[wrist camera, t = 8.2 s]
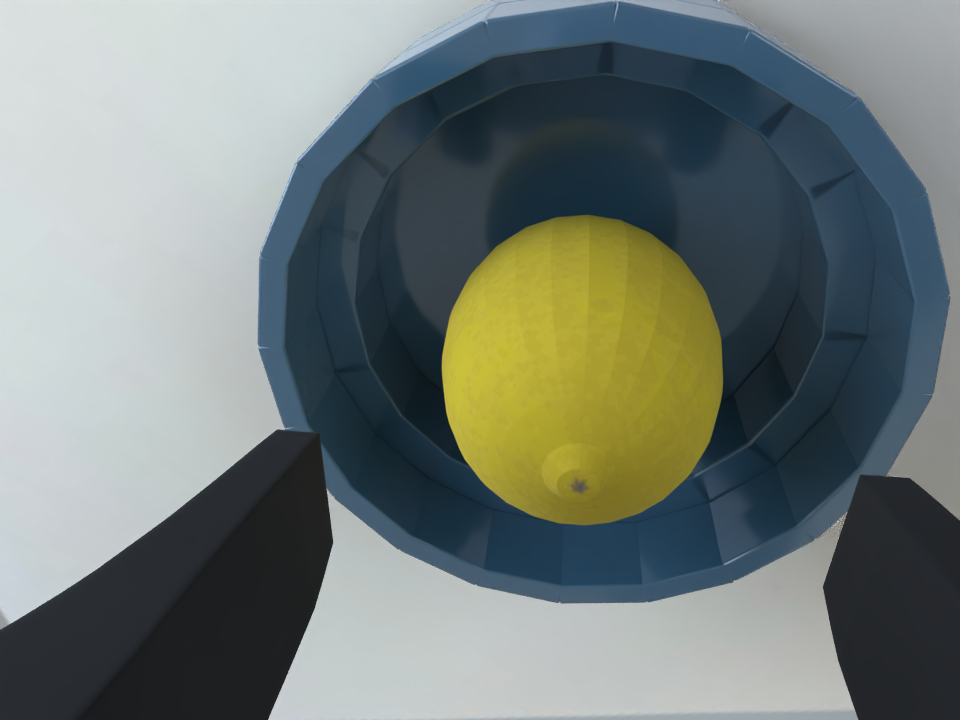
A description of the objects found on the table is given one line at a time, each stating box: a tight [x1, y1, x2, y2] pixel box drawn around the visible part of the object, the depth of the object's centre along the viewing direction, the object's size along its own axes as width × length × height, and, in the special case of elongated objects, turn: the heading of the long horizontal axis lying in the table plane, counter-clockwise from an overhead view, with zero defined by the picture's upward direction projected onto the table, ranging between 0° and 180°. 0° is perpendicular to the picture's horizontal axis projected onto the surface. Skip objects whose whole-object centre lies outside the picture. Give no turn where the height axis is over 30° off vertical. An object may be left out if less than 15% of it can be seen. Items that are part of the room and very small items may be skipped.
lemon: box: [442, 215, 723, 525], centre depth 16 cm, size 6×6×8 cm
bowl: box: [258, 0, 950, 603], centre depth 17 cm, size 13×13×5 cm
